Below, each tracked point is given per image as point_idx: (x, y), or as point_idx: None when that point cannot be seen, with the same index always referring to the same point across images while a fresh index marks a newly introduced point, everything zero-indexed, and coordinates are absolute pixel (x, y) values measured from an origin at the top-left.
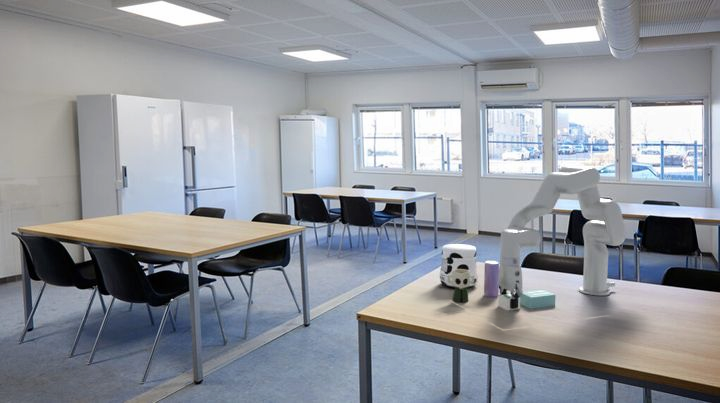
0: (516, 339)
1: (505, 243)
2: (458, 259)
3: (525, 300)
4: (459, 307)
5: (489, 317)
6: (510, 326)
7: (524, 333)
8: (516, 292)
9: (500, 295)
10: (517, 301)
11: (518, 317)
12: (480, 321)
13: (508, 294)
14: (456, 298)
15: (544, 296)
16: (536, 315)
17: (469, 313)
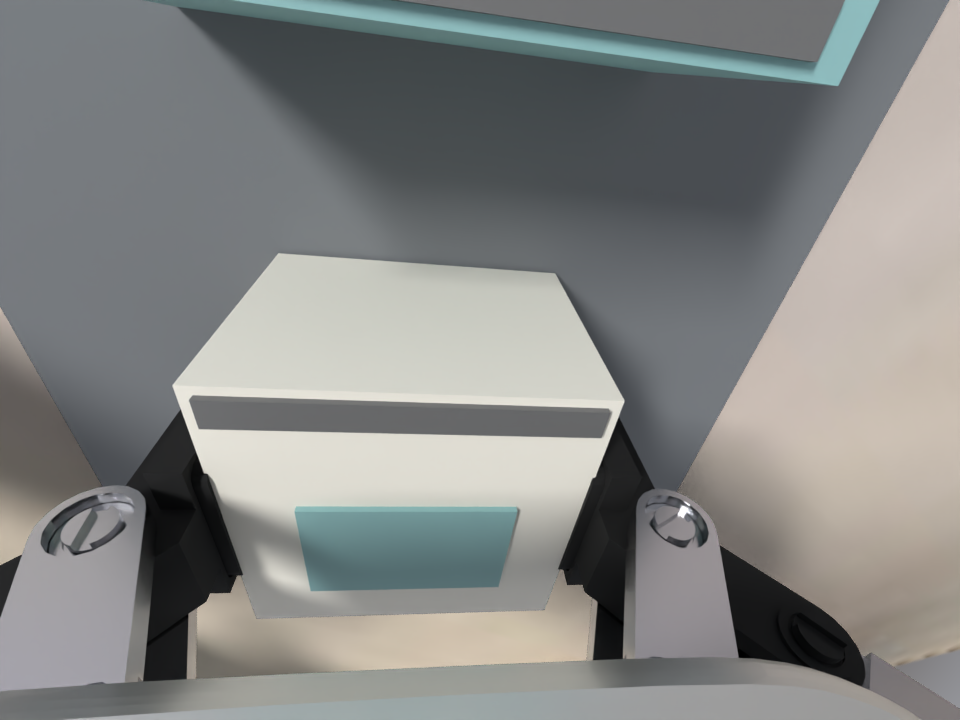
0: (917, 629)
1: None
2: None
3: (508, 47)
4: (227, 659)
5: (551, 603)
6: (788, 580)
7: (932, 573)
8: (673, 656)
9: (290, 606)
10: (639, 462)
11: (722, 444)
12: (579, 655)
13: (247, 475)
14: None
15: None
16: (877, 207)
17: (400, 654)
